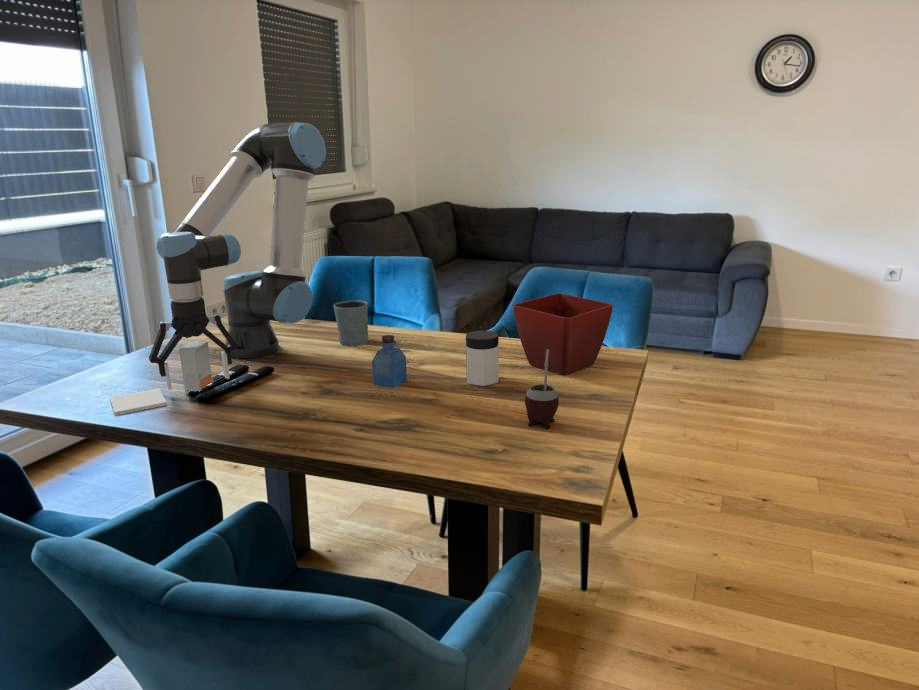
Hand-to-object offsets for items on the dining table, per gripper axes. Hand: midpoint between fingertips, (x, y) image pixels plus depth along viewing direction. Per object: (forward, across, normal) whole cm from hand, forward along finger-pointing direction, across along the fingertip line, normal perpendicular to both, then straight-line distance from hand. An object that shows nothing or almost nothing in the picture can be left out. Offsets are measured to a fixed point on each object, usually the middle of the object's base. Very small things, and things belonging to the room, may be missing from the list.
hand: (198, 382), depth 165 cm
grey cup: (+2, -48, -17) cm, 51 cm away
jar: (+2, -62, +33) cm, 70 cm away
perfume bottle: (+2, -42, +21) cm, 47 cm away
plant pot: (+2, -86, +35) cm, 93 cm away
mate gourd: (+2, -58, +62) cm, 85 cm away
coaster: (+2, +14, 0) cm, 14 cm away
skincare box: (+2, 0, 0) cm, 2 cm away
